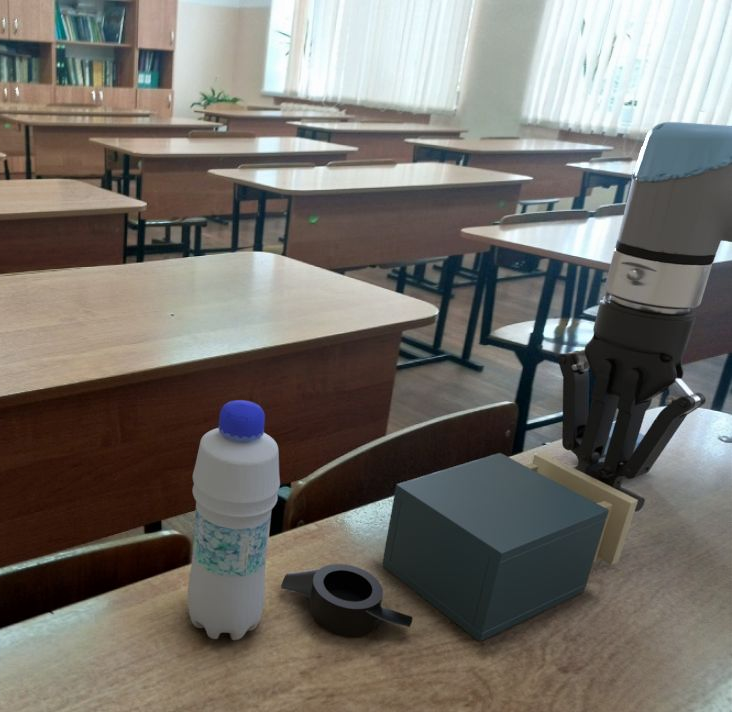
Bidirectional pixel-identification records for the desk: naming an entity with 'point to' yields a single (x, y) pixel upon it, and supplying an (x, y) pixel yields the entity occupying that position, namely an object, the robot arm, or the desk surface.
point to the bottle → (232, 521)
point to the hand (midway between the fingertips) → (584, 523)
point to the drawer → (610, 498)
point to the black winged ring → (344, 599)
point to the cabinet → (492, 542)
